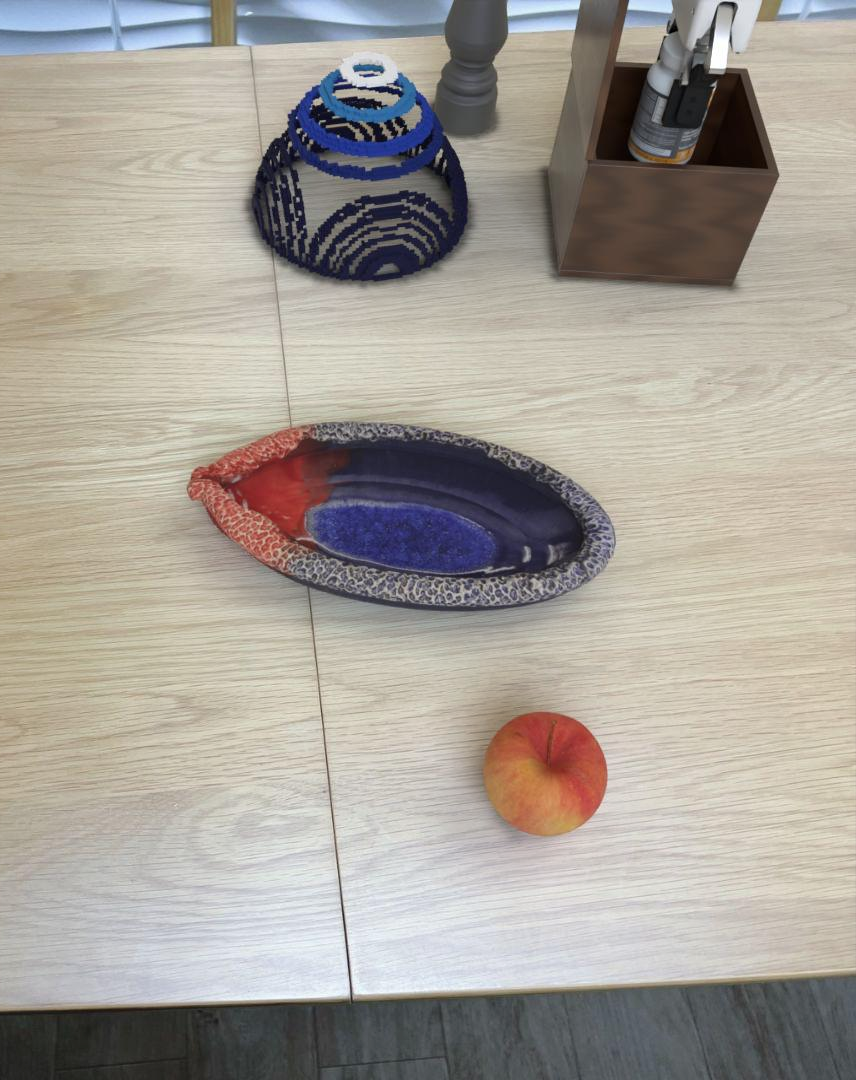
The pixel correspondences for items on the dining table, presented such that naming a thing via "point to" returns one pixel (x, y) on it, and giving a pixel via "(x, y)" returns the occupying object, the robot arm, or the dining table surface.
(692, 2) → the robot arm
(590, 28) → the lid
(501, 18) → the candle holder
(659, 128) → the pill bottle
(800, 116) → the dining table surface
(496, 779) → the apple
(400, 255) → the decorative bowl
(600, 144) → the chest
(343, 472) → the dish
